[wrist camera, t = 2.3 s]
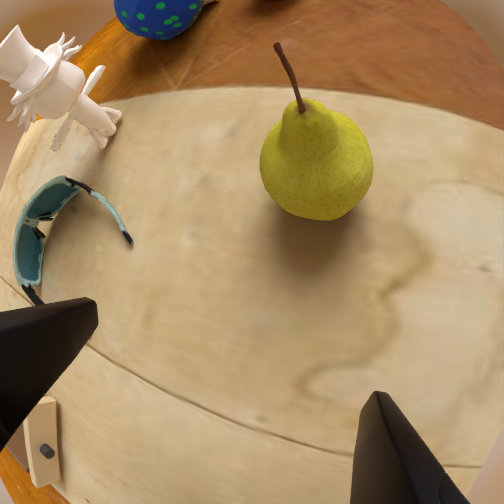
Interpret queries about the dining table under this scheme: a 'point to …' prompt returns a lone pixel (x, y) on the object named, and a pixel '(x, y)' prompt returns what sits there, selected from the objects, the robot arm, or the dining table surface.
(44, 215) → the sunglasses
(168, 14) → the polka dot ball
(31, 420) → the drawer
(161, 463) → the dining table surface
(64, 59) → the figurine
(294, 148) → the fruit
